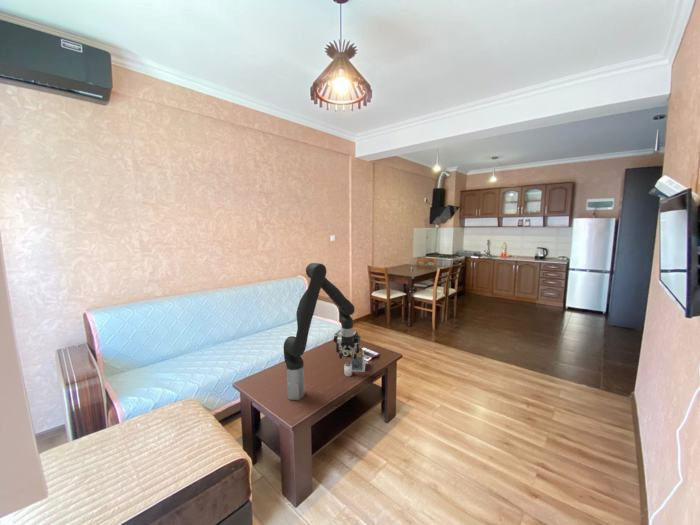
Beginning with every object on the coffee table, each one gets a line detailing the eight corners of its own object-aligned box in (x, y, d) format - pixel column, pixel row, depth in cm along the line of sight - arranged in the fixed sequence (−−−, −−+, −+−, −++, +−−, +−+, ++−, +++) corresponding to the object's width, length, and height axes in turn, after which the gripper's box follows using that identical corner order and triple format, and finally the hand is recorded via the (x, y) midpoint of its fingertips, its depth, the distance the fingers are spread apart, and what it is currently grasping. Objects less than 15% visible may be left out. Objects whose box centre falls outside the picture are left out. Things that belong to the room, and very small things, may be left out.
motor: (364, 372, 187) (364, 354, 185) (348, 371, 188) (348, 353, 186) (365, 362, 199) (365, 345, 197) (351, 361, 200) (350, 345, 198)
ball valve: (333, 355, 210) (332, 331, 207) (337, 350, 218) (336, 327, 215) (357, 358, 205) (357, 334, 202) (360, 353, 213) (360, 329, 210)
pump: (351, 376, 182) (351, 365, 181) (343, 376, 183) (343, 365, 182) (352, 372, 187) (352, 362, 186) (344, 372, 187) (344, 361, 186)
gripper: (334, 336, 178) (335, 361, 181) (358, 336, 176) (359, 362, 179) (336, 331, 185) (337, 355, 188) (359, 331, 184) (359, 356, 186)
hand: (348, 358), depth 184 cm, fingers open, 8 cm apart
